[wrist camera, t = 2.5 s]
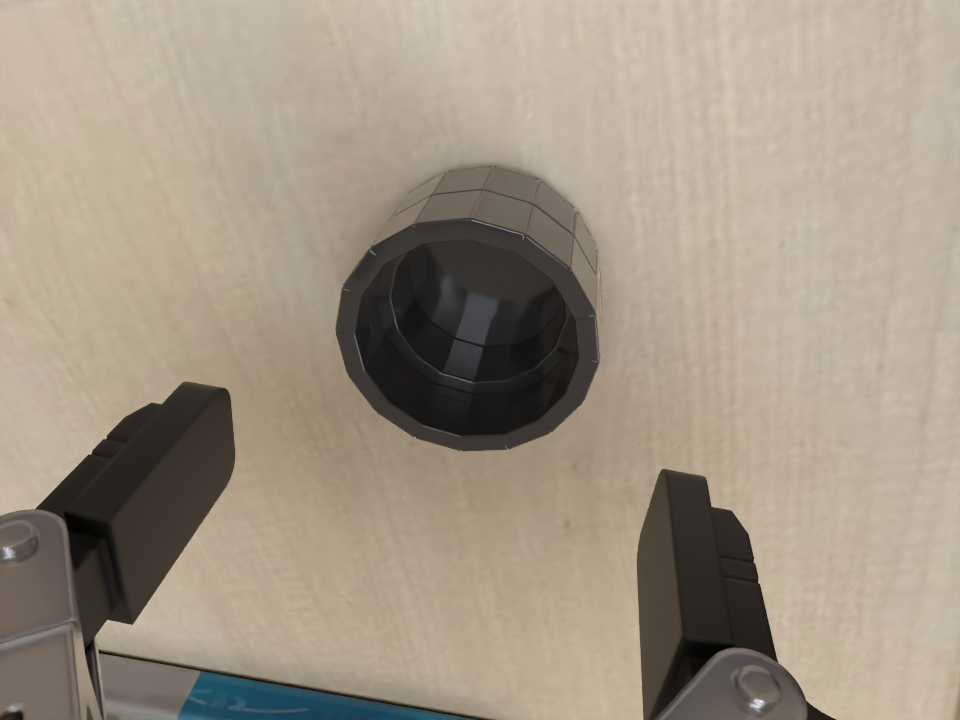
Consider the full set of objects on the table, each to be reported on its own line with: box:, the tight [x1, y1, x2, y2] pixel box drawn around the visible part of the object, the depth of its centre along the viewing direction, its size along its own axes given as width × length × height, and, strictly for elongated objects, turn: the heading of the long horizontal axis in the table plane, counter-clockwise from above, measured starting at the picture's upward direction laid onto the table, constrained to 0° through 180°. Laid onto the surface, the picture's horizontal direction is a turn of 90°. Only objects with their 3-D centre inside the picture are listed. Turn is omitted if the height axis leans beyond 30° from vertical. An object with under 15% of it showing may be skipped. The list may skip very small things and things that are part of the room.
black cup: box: [336, 166, 601, 451], centre depth 19 cm, size 6×6×4 cm
